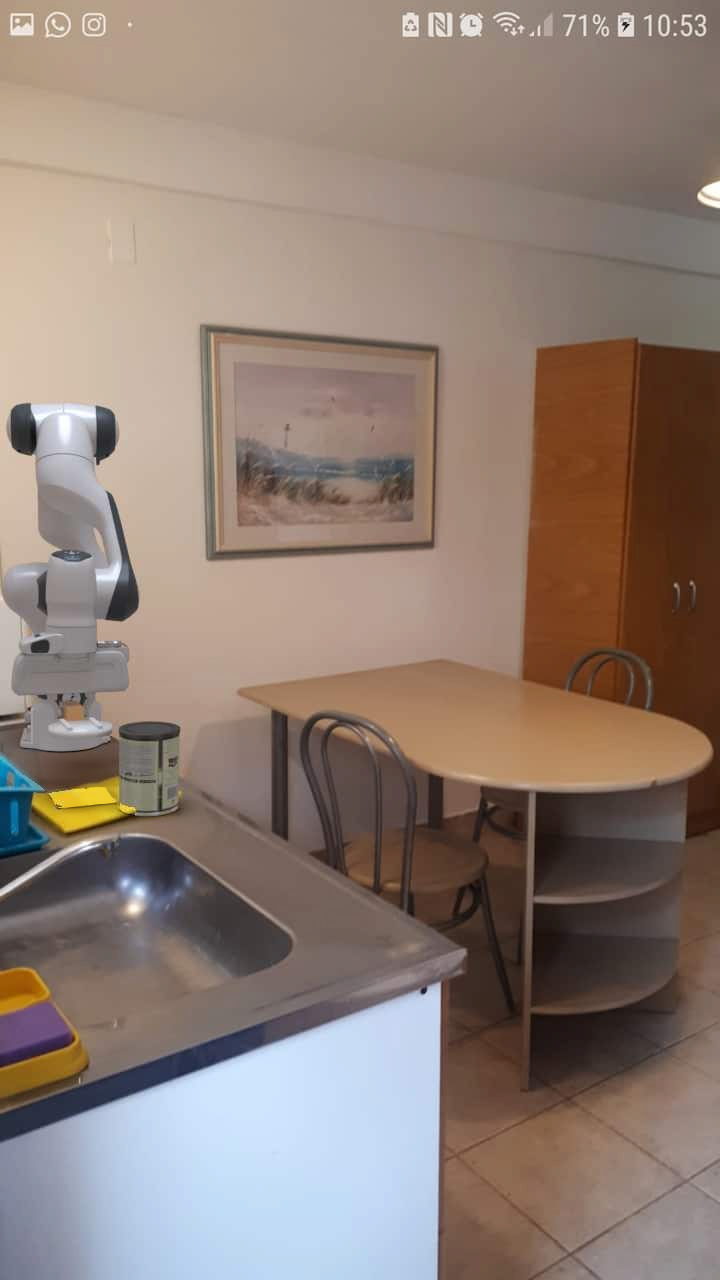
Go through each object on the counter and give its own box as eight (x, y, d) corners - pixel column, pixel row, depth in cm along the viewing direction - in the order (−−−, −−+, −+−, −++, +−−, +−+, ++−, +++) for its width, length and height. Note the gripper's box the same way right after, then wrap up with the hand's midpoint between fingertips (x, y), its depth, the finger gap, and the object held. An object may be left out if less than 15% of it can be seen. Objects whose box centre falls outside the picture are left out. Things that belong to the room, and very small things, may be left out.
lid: (37, 721, 172) (37, 702, 171) (97, 718, 177) (97, 699, 176) (54, 740, 156) (54, 719, 156) (118, 736, 161) (118, 716, 161)
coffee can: (124, 797, 168) (125, 720, 166) (183, 799, 168) (184, 722, 167) (111, 816, 158) (112, 733, 156) (173, 817, 158) (175, 735, 157)
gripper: (125, 638, 177) (124, 711, 179) (9, 640, 168) (9, 717, 169) (133, 642, 172) (133, 717, 173) (14, 644, 162) (14, 724, 164)
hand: (71, 717), depth 171 cm, fingers closed on lid, 3 cm apart
